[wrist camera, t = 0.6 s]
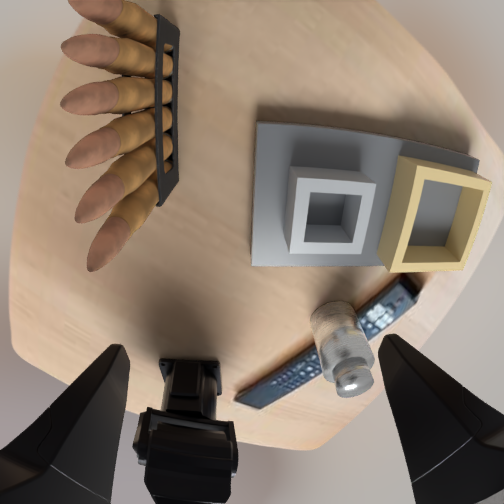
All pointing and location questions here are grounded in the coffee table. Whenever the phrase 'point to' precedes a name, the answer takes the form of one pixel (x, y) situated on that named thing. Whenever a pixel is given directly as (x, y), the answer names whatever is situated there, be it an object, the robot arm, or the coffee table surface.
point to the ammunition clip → (125, 119)
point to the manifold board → (362, 200)
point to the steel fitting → (342, 348)
